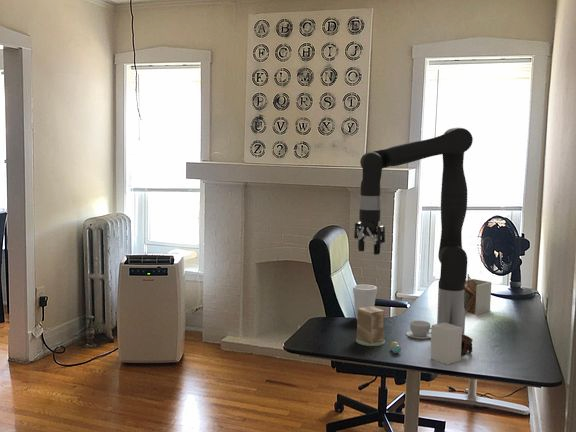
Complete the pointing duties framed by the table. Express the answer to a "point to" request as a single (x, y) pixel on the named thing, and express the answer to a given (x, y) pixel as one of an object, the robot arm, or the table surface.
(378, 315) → the tan cardboard box
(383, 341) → the felt mat
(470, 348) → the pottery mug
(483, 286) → the two-tone wooden box
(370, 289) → the foam cup
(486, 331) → the table surface
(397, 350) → the teal marble
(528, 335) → the table surface
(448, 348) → the tall cream pedestal
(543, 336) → the table surface
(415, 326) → the teacup
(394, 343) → the amber marble
